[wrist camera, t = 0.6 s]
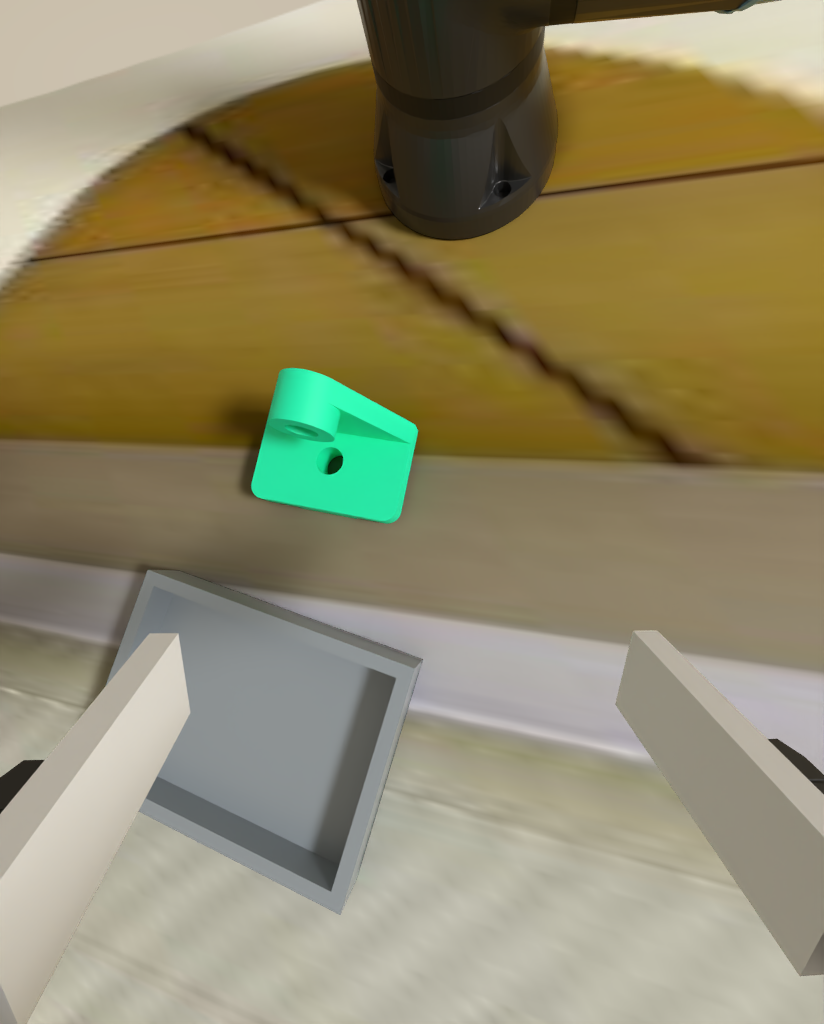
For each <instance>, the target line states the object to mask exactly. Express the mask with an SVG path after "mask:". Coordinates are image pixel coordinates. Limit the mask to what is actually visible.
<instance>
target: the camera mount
mask: <svg viewBox="0 0 824 1024" xmlns="http://www.w3.org/2000/svg"><path fill="white" fill-rule="evenodd" d="M417 434H418V430H417V428H416V426H415V424H413V423H411V422H410V421H408V420H406V419H404V418H402V417H400V416H399V415H397V414H395V413H393V412H391V411H389V410H388V409H386V408H384V407H382V406H380V405H379V404H377V403H375V402H373V401H371V400H369V399H368V398H366V397H364V396H362V395H360V394H358V393H357V392H355V391H353V390H351V389H349V388H347V387H346V386H344V385H342V384H340V383H338V382H337V381H335V380H333V379H331V378H329V377H327V376H324V375H322V374H319V373H316V372H313V371H309V370H304V369H298V368H287V369H283V370H281V371H280V372H279V376H278V380H277V384H276V388H275V392H274V396H273V400H272V404H271V408H270V412H269V416H268V420H267V424H266V428H265V432H264V436H263V440H262V444H261V448H260V452H259V456H258V460H257V464H256V468H255V472H254V476H253V480H252V484H251V488H252V491H253V493H254V494H255V495H256V496H257V497H259V498H262V499H264V500H267V501H271V502H276V503H281V504H286V505H292V506H297V507H300V508H303V509H308V510H313V511H319V512H324V513H329V514H334V515H339V516H345V517H350V518H355V519H357V518H360V519H365V520H370V521H375V522H381V523H387V524H388V523H392V522H394V521H396V520H397V519H398V518H399V516H400V514H401V510H402V506H403V501H404V496H405V491H406V486H407V482H408V477H409V472H410V467H411V463H412V458H413V453H414V448H415V444H416V439H417ZM337 456H343V465H342V467H341V468H340V470H339V471H338V472H336V473H334V474H331V475H329V474H328V465H329V463H330V461H331V460H332V459H333V458H335V457H337Z"/></svg>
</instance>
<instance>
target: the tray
mask: <svg viewBox="0 0 824 1024" xmlns="http://www.w3.org/2000/svg"><path fill="white" fill-rule="evenodd" d="M149 633H178V634H179V641H180V647H181V654H182V661H183V667H184V674H185V680H186V687H187V693H188V700H189V706H190V715H189V716H188V718H187V720H186V722H185V724H184V726H183V728H182V730H181V732H180V734H179V735H178V737H177V739H176V741H175V743H174V745H173V747H172V749H171V751H170V752H169V754H168V756H167V758H166V760H165V762H164V764H163V766H162V768H161V770H160V771H159V773H158V775H157V777H156V779H155V781H154V783H153V785H152V787H151V789H150V790H149V792H148V794H147V796H146V798H145V800H144V802H143V804H142V806H141V807H140V809H139V812H141V813H143V814H145V815H147V816H149V817H151V818H153V819H154V820H156V821H158V822H160V823H162V824H164V825H166V826H168V827H170V828H172V829H174V830H176V831H178V832H180V833H182V834H184V835H186V836H188V837H189V838H191V839H193V840H195V841H197V842H199V843H201V844H203V845H205V846H207V847H209V848H211V849H213V850H215V851H217V852H219V853H221V854H223V855H224V856H226V857H228V858H230V859H232V860H234V861H236V862H238V863H240V864H242V865H244V866H246V867H248V868H250V869H252V870H254V871H256V872H258V873H259V874H261V875H263V876H265V877H267V878H269V879H271V880H273V881H275V882H277V883H279V884H281V885H283V886H285V887H287V888H289V889H291V890H293V891H294V892H296V893H298V894H300V895H302V896H304V897H306V898H308V899H310V900H312V901H314V902H316V903H318V904H320V905H322V906H324V907H326V908H328V909H329V910H331V911H333V912H335V913H337V914H339V915H341V913H342V910H343V908H344V906H345V904H346V902H347V899H348V897H349V895H350V893H351V891H352V888H353V886H354V884H355V882H356V880H357V876H358V873H359V870H360V866H361V863H362V860H363V857H364V853H365V850H366V847H367V843H368V840H369V837H370V833H371V830H372V827H373V823H374V820H375V817H376V813H377V810H378V807H379V803H380V800H381V797H382V793H383V790H384V787H385V783H386V780H387V777H388V773H389V770H390V767H391V764H392V760H393V757H394V754H395V750H396V747H397V744H398V740H399V737H400V734H401V730H402V727H403V724H404V720H405V717H406V714H407V710H408V707H409V704H410V700H411V697H412V694H413V690H414V687H415V684H416V680H417V677H418V674H419V670H420V667H421V664H422V661H423V659H420V658H418V657H415V656H412V655H409V654H407V653H404V652H401V651H398V650H396V649H393V648H390V647H387V646H385V645H382V644H379V643H376V642H374V641H371V640H368V639H365V638H363V637H360V636H357V635H354V634H352V633H349V632H346V631H343V630H341V629H338V628H335V627H332V626H330V625H327V624H324V623H321V622H319V621H316V620H313V619H310V618H308V617H305V616H302V615H299V614H297V613H294V612H291V611H288V610H286V609H283V608H280V607H277V606H275V605H272V604H269V603H266V602H264V601H261V600H258V599H256V598H253V597H250V596H247V595H245V594H242V593H239V592H236V591H234V590H231V589H228V588H225V587H223V586H220V585H217V584H214V583H212V582H209V581H206V580H203V579H201V578H198V577H195V576H192V575H190V574H187V573H184V572H181V571H177V570H147V573H146V576H145V579H144V581H143V584H142V587H141V590H140V592H139V595H138V598H137V601H136V603H135V606H134V609H133V612H132V614H131V617H130V620H129V623H128V625H127V628H126V631H125V634H124V636H123V639H122V642H121V645H120V647H119V650H118V653H117V656H116V658H115V661H114V664H113V667H112V669H111V672H110V675H109V678H108V680H107V683H106V685H107V684H108V683H109V682H110V681H111V679H112V678H113V677H114V676H115V674H116V673H117V672H118V671H119V670H120V668H121V667H122V666H123V665H124V664H125V662H126V661H127V660H128V659H129V658H130V656H131V655H132V654H133V653H134V651H135V650H136V649H137V648H138V647H139V645H140V644H141V643H142V642H143V641H144V639H145V638H146V637H147V636H148V635H149ZM105 687H106V686H105Z"/></svg>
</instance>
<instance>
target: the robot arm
mask: <svg viewBox="0 0 824 1024" xmlns="http://www.w3.org/2000/svg"><path fill="white" fill-rule="evenodd" d="M774 1H780V0H357V4H358V8H359V12H360V16H361V20H362V24H363V28H364V33H365V37H366V41H367V45H368V49H369V53H370V57H371V61H372V65H373V69H374V74H375V78H376V83H377V92H376V114H375V135H374V162H375V169H376V173H377V177H378V180H379V184H380V187H381V191H382V194H383V197H384V200H385V202H386V204H387V206H388V207H389V209H390V210H391V212H392V213H393V214H394V215H395V216H396V218H398V219H399V220H400V221H401V222H402V223H403V224H405V225H406V226H407V227H409V228H411V229H412V230H414V231H416V232H419V233H421V234H424V235H427V236H430V237H435V238H441V239H465V238H471V237H476V236H480V235H483V234H486V233H489V232H492V231H494V230H496V229H498V228H500V227H502V226H504V225H506V224H508V223H509V222H511V221H512V220H514V219H515V218H517V217H518V216H519V215H521V214H522V213H523V212H524V211H525V210H526V209H527V208H528V207H529V206H530V205H531V204H532V203H533V202H534V201H535V200H536V198H537V197H538V196H539V194H540V193H541V191H542V190H543V188H544V186H545V185H546V183H547V181H548V178H549V176H550V173H551V170H552V167H553V162H554V157H555V150H556V143H557V134H558V118H557V110H556V105H555V100H554V95H553V90H552V85H551V80H550V75H549V70H548V65H547V60H546V55H545V50H544V33H545V26H549V25H559V24H569V23H572V24H573V23H584V22H596V21H607V20H618V19H629V18H641V17H652V16H663V15H674V14H686V13H697V12H708V11H715V12H717V13H722V14H732V13H733V12H735V11H742V10H745V9H747V8H749V7H751V6H753V5H755V4H761V3H767V2H774ZM615 705H616V706H617V707H618V709H619V710H620V712H621V713H622V715H623V716H624V718H625V719H626V721H627V722H628V724H629V725H630V727H631V728H632V730H633V731H634V733H635V734H636V735H637V737H638V738H639V740H640V741H641V743H642V744H643V746H644V747H645V749H646V750H647V752H648V753H649V755H650V756H651V758H652V759H653V761H654V762H655V763H656V765H657V766H658V768H659V769H660V771H661V772H662V774H663V775H664V777H665V778H666V780H667V781H668V783H669V784H670V786H671V787H672V789H673V790H674V791H675V793H676V794H677V796H678V797H679V799H680V800H681V802H682V803H683V805H684V806H685V808H686V809H687V811H688V812H689V814H690V815H691V817H692V818H693V819H694V821H695V822H696V824H697V825H698V827H699V828H700V830H701V831H702V833H703V834H704V836H705V837H706V839H707V840H708V842H709V843H710V845H711V846H712V847H713V849H714V850H715V852H716V853H717V855H718V856H719V858H720V859H721V861H722V862H723V864H724V865H725V867H726V868H727V870H728V871H729V872H730V874H731V875H732V877H733V878H734V880H735V881H736V883H737V884H738V886H739V887H740V889H741V890H742V892H743V893H744V895H745V896H746V898H747V899H748V900H749V902H750V903H751V905H752V906H753V908H754V909H755V911H756V912H757V914H758V915H759V917H760V918H761V920H762V921H763V923H764V924H765V926H766V927H767V928H768V930H769V931H770V933H771V934H772V936H773V937H774V939H775V940H776V942H777V943H778V945H779V946H780V948H781V949H782V951H783V952H784V954H785V955H786V956H787V958H788V959H789V961H790V962H791V964H792V965H793V967H794V968H795V970H796V971H797V973H798V974H799V976H809V975H822V974H824V775H823V774H822V773H821V772H820V771H819V770H818V769H817V768H816V767H815V766H814V765H813V764H812V763H811V762H810V761H808V760H807V759H806V758H805V757H804V756H802V755H801V754H799V753H798V752H796V751H795V750H793V749H792V748H790V747H789V746H787V745H786V744H784V743H783V742H781V741H780V740H778V739H767V738H766V737H765V736H764V735H763V734H762V733H761V732H760V731H759V730H758V729H757V728H756V727H755V726H754V725H753V724H752V723H751V722H750V721H749V720H748V719H747V718H745V717H744V716H743V715H742V714H741V713H740V712H739V711H738V710H737V709H736V708H735V707H734V706H733V705H732V704H731V703H730V702H729V701H728V700H727V699H726V698H725V697H724V696H723V695H722V694H721V693H720V692H719V691H718V690H717V689H716V688H715V687H714V686H713V685H712V684H711V683H710V682H709V681H708V680H707V679H706V678H705V677H704V676H703V675H702V674H701V673H700V672H699V671H698V670H697V669H696V668H695V667H694V666H693V665H692V664H691V663H690V662H689V661H688V660H687V659H686V658H685V657H684V656H683V655H682V654H681V653H680V652H679V651H678V650H677V649H676V648H675V647H674V646H672V645H671V644H670V643H669V642H668V641H667V640H666V639H665V638H664V637H663V636H662V635H661V634H660V633H659V632H658V631H633V633H632V637H631V641H630V645H629V650H628V654H627V658H626V662H625V666H624V671H623V675H622V679H621V683H620V687H619V692H618V696H617V700H616V704H615ZM189 715H190V706H189V700H188V693H187V687H186V680H185V674H184V667H183V661H182V654H181V647H180V641H179V634H178V633H149V635H148V636H147V637H146V638H145V639H144V641H143V642H142V643H141V644H140V645H139V647H138V648H137V649H136V650H135V651H134V653H133V654H132V655H131V656H130V658H129V659H128V660H127V661H126V662H125V664H124V665H123V666H122V667H121V668H120V670H119V671H118V672H117V673H116V674H115V676H114V677H113V678H112V679H111V681H110V682H109V683H108V684H107V685H106V687H105V688H104V689H103V690H102V691H101V693H100V694H99V695H98V696H97V697H96V699H95V700H94V701H93V702H92V704H91V705H90V706H89V707H88V708H87V710H86V711H85V712H84V713H83V714H82V716H81V717H80V718H79V719H78V720H77V722H76V723H75V724H74V725H73V727H72V728H71V729H70V730H69V731H68V733H67V734H66V735H65V736H64V737H63V739H62V740H61V741H60V742H59V743H58V745H57V746H56V747H55V748H54V750H53V751H52V752H51V753H50V754H49V756H48V757H47V758H46V759H45V760H24V761H22V762H21V763H20V764H18V765H17V766H15V767H14V768H13V769H11V770H10V771H9V772H7V773H6V774H5V775H3V776H2V777H1V778H0V1024H27V1022H28V1020H29V1018H30V1016H31V1014H32V1012H33V1010H34V1008H35V1007H36V1005H37V1003H38V1001H39V999H40V997H41V995H42V993H43V991H44V989H45V988H46V986H47V984H48V982H49V980H50V978H51V976H52V974H53V972H54V970H55V969H56V967H57V965H58V963H59V961H60V959H61V957H62V955H63V953H64V952H65V950H66V948H67V946H68V944H69V942H70V940H71V938H72V936H73V934H74V933H75V931H76V929H77V927H78V925H79V923H80V921H81V919H82V917H83V916H84V914H85V912H86V910H87V908H88V906H89V904H90V902H91V900H92V898H93V897H94V895H95V893H96V891H97V889H98V887H99V885H100V883H101V881H102V879H103V878H104V876H105V874H106V872H107V870H108V868H109V866H110V864H111V862H112V861H113V859H114V857H115V855H116V853H117V851H118V849H119V847H120V845H121V843H122V842H123V840H124V838H125V836H126V834H127V832H128V830H129V828H130V826H131V825H132V823H133V821H134V819H135V817H136V815H137V813H138V811H139V809H140V807H141V806H142V804H143V802H144V800H145V798H146V796H147V794H148V792H149V790H150V789H151V787H152V785H153V783H154V781H155V779H156V777H157V775H158V773H159V771H160V770H161V768H162V766H163V764H164V762H165V760H166V758H167V756H168V754H169V752H170V751H171V749H172V747H173V745H174V743H175V741H176V739H177V737H178V735H179V734H180V732H181V730H182V728H183V726H184V724H185V722H186V720H187V718H188V716H189Z"/></svg>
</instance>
